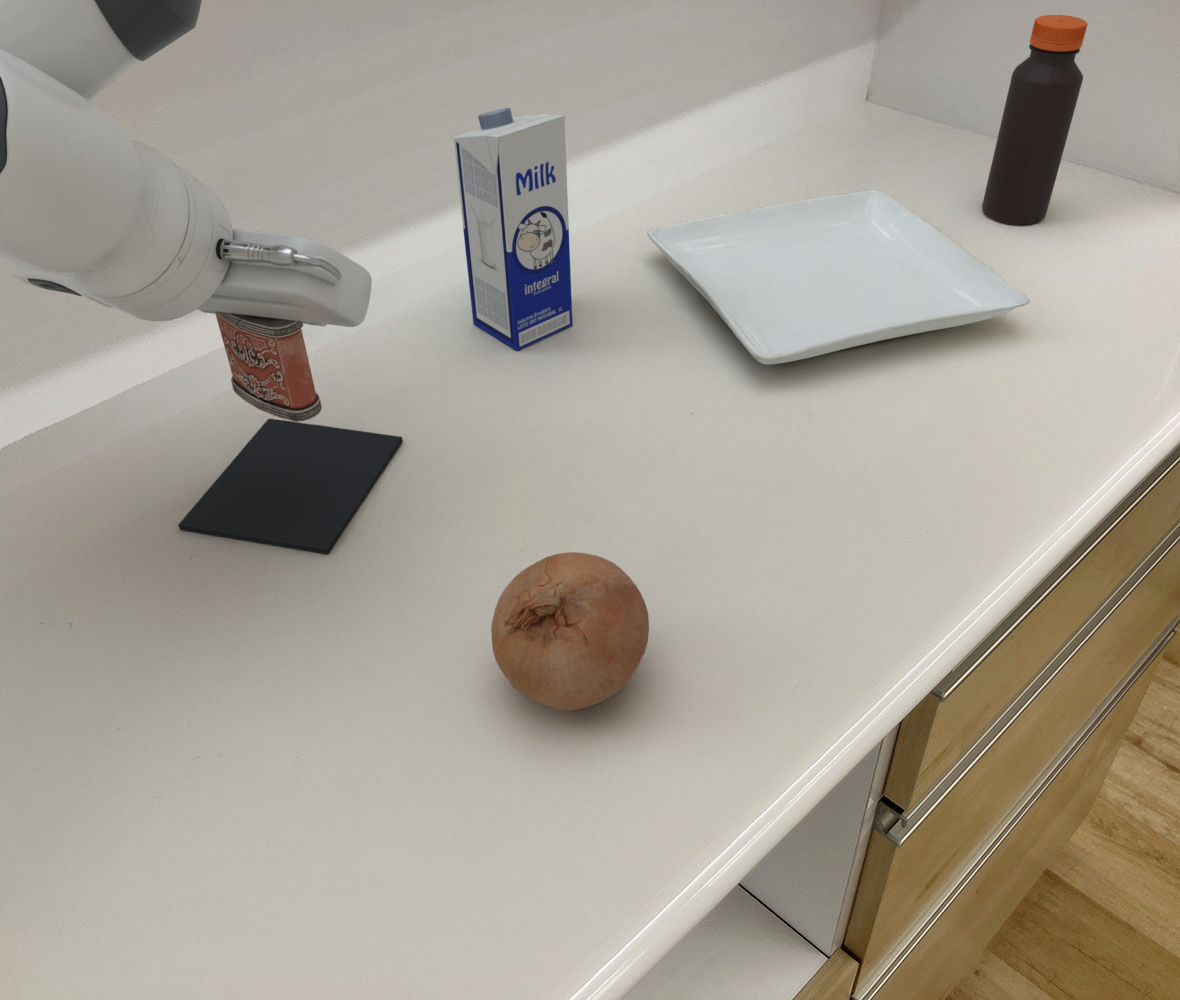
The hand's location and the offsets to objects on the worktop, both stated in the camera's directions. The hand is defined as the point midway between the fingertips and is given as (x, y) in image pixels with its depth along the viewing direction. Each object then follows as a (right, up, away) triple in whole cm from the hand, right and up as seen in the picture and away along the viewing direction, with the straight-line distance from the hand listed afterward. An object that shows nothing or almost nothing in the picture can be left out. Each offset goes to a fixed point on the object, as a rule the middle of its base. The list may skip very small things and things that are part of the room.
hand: (267, 308), depth 73 cm
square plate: (+45, +7, +29) cm, 54 cm away
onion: (+22, -25, -8) cm, 34 cm away
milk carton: (+16, +3, +26) cm, 31 cm away
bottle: (+69, +18, +43) cm, 83 cm away
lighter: (0, -6, +2) cm, 7 cm away
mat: (0, -12, +8) cm, 15 cm away
